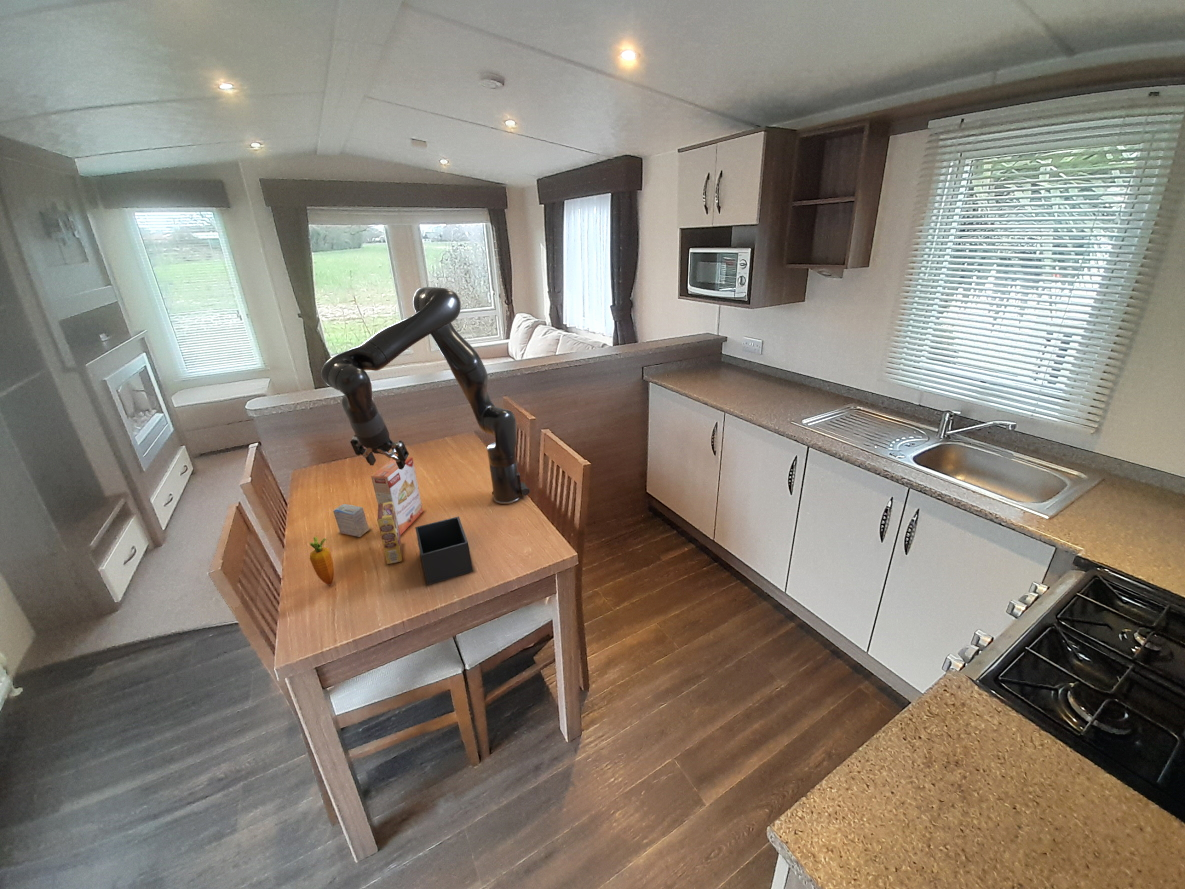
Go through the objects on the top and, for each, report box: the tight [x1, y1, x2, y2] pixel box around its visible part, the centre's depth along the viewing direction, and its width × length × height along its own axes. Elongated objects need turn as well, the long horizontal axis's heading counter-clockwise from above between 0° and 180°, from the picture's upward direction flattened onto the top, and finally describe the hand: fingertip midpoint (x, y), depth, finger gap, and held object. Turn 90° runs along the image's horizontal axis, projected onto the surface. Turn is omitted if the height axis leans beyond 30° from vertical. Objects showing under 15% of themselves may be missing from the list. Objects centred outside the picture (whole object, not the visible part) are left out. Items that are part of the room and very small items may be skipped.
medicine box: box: [332, 503, 370, 538], centre depth 149 cm, size 8×4×9 cm, turn 71°
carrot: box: [309, 536, 335, 586], centre depth 125 cm, size 5×5×15 cm
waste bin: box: [414, 515, 474, 586], centre depth 133 cm, size 12×14×10 cm
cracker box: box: [370, 455, 424, 536], centre depth 150 cm, size 14×6×21 cm, turn 168°
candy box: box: [377, 502, 403, 565], centre depth 136 cm, size 9×4×15 cm, turn 20°
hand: (387, 465), depth 134 cm, fingers open, 8 cm apart
